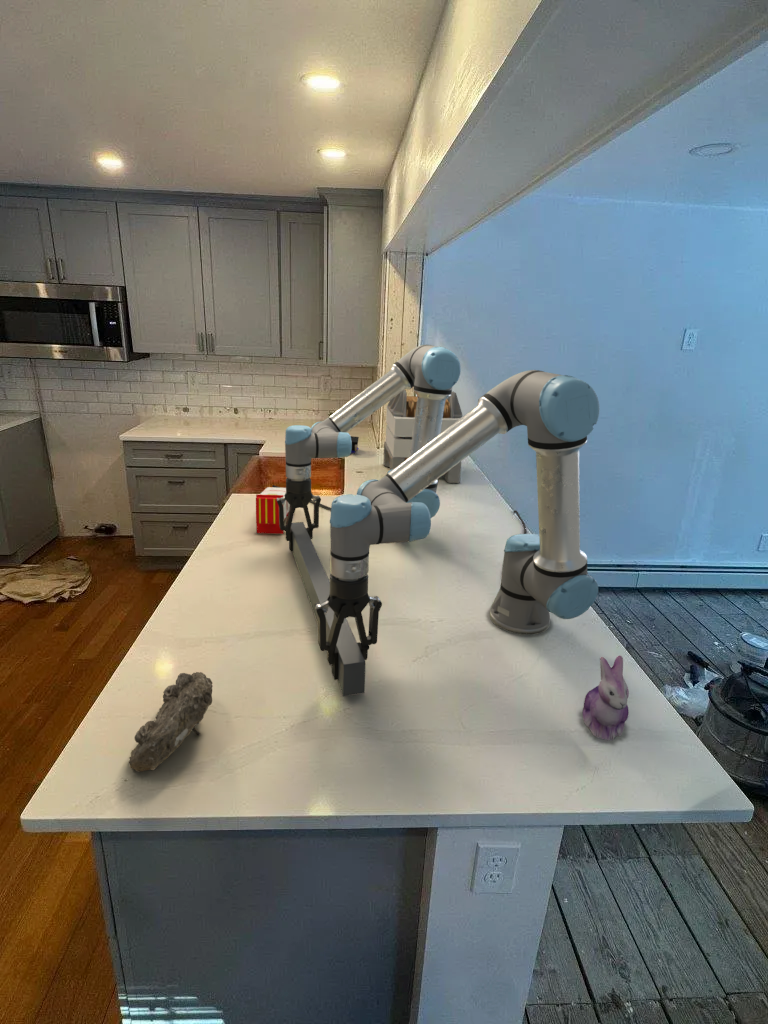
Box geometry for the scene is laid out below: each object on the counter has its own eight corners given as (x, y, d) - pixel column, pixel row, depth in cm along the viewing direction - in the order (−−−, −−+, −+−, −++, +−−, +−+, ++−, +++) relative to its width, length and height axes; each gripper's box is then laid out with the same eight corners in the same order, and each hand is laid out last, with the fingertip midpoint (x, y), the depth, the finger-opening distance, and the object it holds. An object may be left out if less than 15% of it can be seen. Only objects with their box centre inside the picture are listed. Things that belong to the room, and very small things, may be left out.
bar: (289, 544, 183) (289, 522, 180) (303, 543, 184) (303, 521, 181) (343, 696, 113) (343, 664, 110) (364, 693, 114) (365, 661, 111)
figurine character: (358, 457, 303) (358, 448, 316) (358, 444, 299) (359, 435, 313) (345, 457, 302) (346, 447, 316) (345, 443, 299) (347, 434, 313)
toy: (297, 482, 219) (286, 496, 190) (297, 516, 222) (286, 535, 193) (265, 481, 219) (249, 495, 189) (265, 515, 221) (250, 534, 192)
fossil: (162, 673, 113) (214, 640, 108) (196, 704, 116) (248, 673, 111) (102, 765, 93) (163, 730, 88) (145, 799, 96) (206, 767, 91)
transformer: (382, 463, 289) (386, 382, 275) (445, 464, 293) (451, 384, 279) (390, 482, 257) (394, 392, 243) (460, 483, 261) (468, 394, 247)
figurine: (608, 750, 104) (623, 681, 99) (567, 715, 113) (579, 651, 107) (643, 734, 108) (659, 668, 103) (601, 702, 117) (614, 640, 112)
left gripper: (270, 482, 164) (272, 556, 172) (329, 480, 169) (329, 551, 177) (267, 475, 171) (269, 546, 178) (325, 473, 175) (324, 542, 183)
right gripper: (307, 586, 105) (308, 691, 113) (397, 577, 110) (392, 679, 118) (301, 569, 111) (302, 669, 119) (386, 561, 116) (382, 658, 124)
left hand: (299, 549), depth 178 cm, fingers closed on bar, 4 cm apart
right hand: (347, 674), depth 118 cm, fingers closed on bar, 4 cm apart
